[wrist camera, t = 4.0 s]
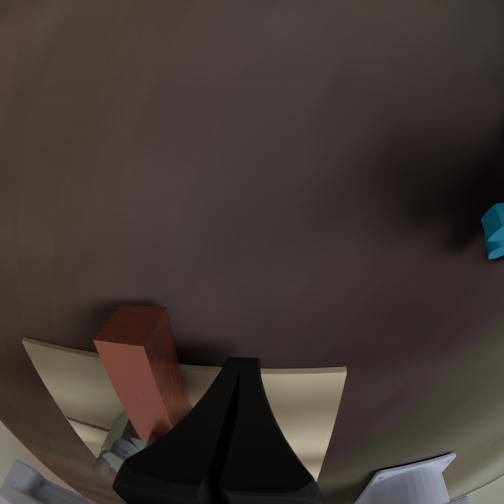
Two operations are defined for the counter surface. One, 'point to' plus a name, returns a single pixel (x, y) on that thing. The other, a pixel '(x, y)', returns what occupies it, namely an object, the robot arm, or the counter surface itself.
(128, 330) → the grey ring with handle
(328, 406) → the mounting board
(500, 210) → the gear
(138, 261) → the counter surface
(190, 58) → the counter surface
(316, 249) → the counter surface
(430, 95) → the counter surface
